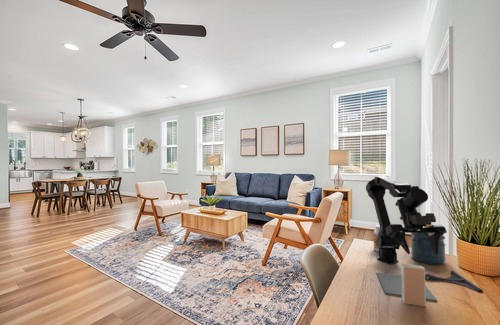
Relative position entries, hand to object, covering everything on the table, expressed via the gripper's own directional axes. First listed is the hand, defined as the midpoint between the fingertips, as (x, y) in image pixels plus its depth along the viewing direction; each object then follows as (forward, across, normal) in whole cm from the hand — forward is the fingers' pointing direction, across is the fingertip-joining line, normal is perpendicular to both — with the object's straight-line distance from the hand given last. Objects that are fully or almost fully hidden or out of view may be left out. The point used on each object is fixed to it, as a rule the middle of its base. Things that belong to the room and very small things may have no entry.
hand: (422, 254), depth 82 cm
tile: (+15, -7, +1) cm, 17 cm away
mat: (+10, -5, +10) cm, 15 cm away
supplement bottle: (-10, +3, +42) cm, 43 cm away
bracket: (+7, +14, +15) cm, 22 cm away
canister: (-4, +20, +32) cm, 38 cm away
